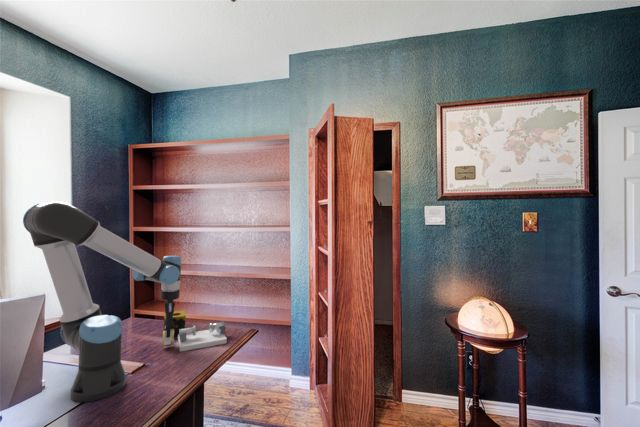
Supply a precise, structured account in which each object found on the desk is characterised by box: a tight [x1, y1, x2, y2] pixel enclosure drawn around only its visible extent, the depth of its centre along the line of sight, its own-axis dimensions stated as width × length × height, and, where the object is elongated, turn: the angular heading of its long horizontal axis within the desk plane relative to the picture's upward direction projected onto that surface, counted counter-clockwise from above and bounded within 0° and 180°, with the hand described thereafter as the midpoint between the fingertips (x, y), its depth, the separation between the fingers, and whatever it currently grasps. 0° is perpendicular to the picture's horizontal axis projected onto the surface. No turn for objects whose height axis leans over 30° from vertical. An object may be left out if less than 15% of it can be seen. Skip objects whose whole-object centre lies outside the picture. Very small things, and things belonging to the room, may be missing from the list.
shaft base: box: [177, 325, 228, 352], centre depth 142 cm, size 20×16×8 cm
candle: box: [163, 310, 187, 338], centre depth 151 cm, size 10×10×10 cm
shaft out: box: [208, 321, 226, 335], centre depth 146 cm, size 7×5×6 cm
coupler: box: [161, 328, 175, 347], centre depth 134 cm, size 5×5×7 cm
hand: (167, 342), depth 134 cm, fingers closed on coupler, 4 cm apart
